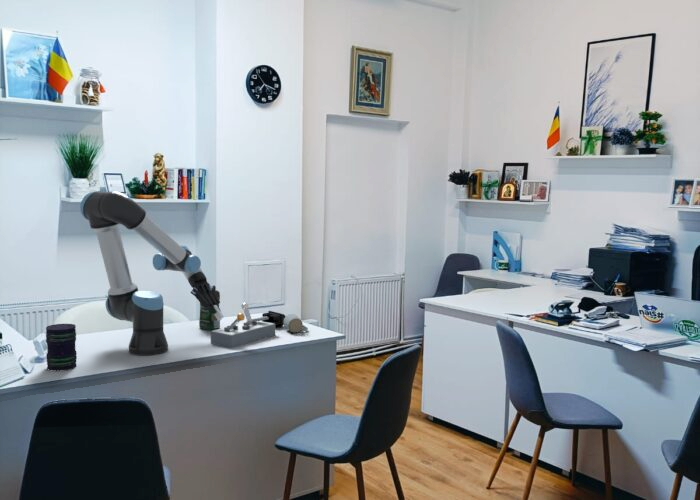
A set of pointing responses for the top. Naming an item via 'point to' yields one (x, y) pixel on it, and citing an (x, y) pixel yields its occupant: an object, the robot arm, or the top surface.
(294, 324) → the ceramic mug
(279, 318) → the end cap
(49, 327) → the storage jar
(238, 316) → the lever orange
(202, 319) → the coffee jar
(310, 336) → the top surface
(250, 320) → the silver ball lever
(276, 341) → the top surface
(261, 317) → the rocker grey
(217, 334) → the console
